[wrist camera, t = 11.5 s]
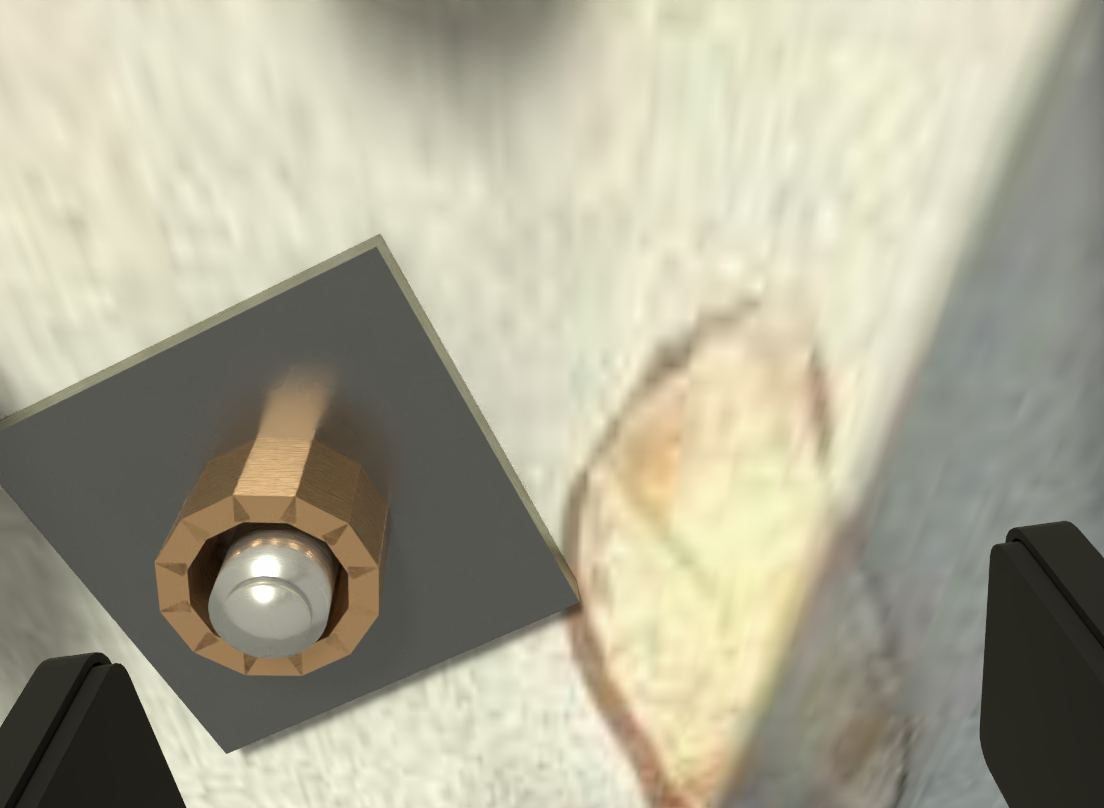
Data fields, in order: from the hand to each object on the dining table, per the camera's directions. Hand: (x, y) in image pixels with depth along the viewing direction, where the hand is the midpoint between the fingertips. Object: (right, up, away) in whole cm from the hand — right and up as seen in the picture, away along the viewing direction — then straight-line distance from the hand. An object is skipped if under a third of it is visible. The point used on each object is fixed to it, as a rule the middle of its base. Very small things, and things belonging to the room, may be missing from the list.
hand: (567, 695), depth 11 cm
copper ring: (-10, -1, +27) cm, 28 cm away
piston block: (-10, -1, +28) cm, 30 cm away
